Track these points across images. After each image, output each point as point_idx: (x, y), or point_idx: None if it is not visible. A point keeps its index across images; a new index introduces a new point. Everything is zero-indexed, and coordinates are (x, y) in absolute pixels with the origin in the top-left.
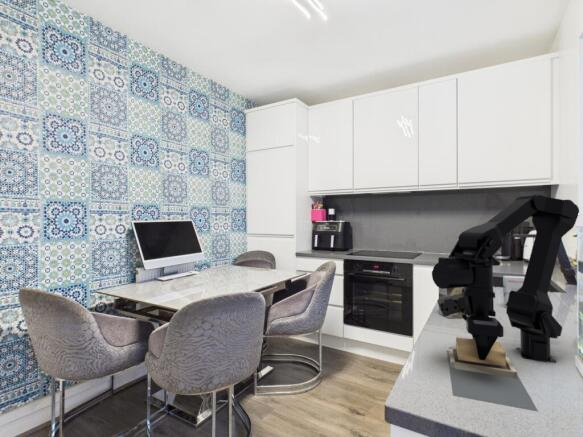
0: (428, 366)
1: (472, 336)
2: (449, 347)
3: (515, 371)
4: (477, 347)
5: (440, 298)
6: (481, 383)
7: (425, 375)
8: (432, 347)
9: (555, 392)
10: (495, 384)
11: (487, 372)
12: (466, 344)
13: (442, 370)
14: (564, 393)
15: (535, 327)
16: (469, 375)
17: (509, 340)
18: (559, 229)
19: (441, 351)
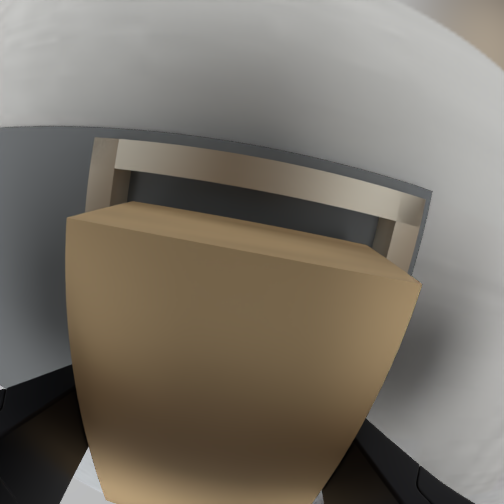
0: (160, 17)
1: (371, 454)
2: (422, 204)
3: None
4: (20, 388)
5: None
6: (4, 265)
7: (59, 17)
8: (481, 123)
9: (89, 467)
10: (18, 323)
11: None
12: (160, 342)
13: (115, 89)
14: (96, 480)
15: None
16: (51, 233)
17: (486, 467)
18: None
19: (437, 158)
